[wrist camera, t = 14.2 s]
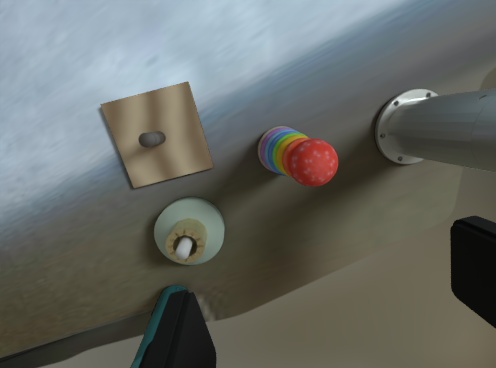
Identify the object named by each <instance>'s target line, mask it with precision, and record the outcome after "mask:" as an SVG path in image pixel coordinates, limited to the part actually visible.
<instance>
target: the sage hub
mask: <svg viewBox="0 0 496 368" xmlns="http://www.w3.org/2000/svg"><path fill="white" fill-rule="evenodd" d="M187 218H191V219H196V220H199V221H200V222H201V223H202V224H203V225H204V226H205V227H206V230H207V233H208V236H207V240H206V245H205V249H204V252H203V255H202V256H201V257H200V258H199V259H198V260H197V261H195V262H191V263H187V264H185V263H180V262H177V263H180V264H184V265H196V264H201V263H204V262H206V261H208V260H210V259H211V258H213V257H214V256H215V255H216V254H217V253H218V251H219V250H220V248H221V246H222V244H223V240H224V230H225V224H224V219H223V217H222V214H221V213H220V211H219V210H218V208H217V207H216V206H215V205H213V204H212V203H211V202H209V201H207V200H205V199H203V198H199V197H183V198H180V199H177V200H175V201H173V202H172V203H170V204H169V205H168V206H167V207H166V208H165V209H164V211H163V212H162V213H161V214H160V216H159V217H158V219H157V221H156V224H155V227H154V238H155V241H156V244H157V246H158V248H159V249H160V251H161V252H162V253H163V254H164V255H165V256H166V257H167V258H169V259H170V260H172V261H174V262H176V261H175V260H173V259H172V258H171V257H170V256H168V253H167V250H166V248H165V245H166V240H167V237H168V235H169V233H170V232H171V230H172V228H173V226H175V225H176V224H177V223H178V222H179V221H180V220H183V219H187ZM179 238H180V243H179V245H178V247H177V249H176V252H175V255H176V257H177V258H178V259H182V260H183V259H186V258H187V257H188V256H189V253H190V250H191V247H192V244H195V243H197V242H196V240H195V239H193V238H192V237H191V236H187V235H183V236H179Z"/></svg>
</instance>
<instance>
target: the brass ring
mask: <svg viewBox="0 0 496 368" xmlns="http://www.w3.org/2000/svg"><path fill="white" fill-rule="evenodd" d="M183 235H187V236H191V237H192V238H193V239H195V240H196V242H197V243H195V244H192V247H191V250H190V253H189V256H188V257H187V258H186V259H183V260H182V259H178V258H177V257H176V255H175V252H176V249H177V247H178V245H179V243H180V238H179V236H183ZM207 236H208V233H207V230H206V227H205V226H204V225H203V224H202V223H201V222H200V221H199V220H196V219H191V218H187V219H183V220H180V221H179V222H178V223H177V224H176V225H175V226H173V228H172V230H171V232H170V233H169V235H168V237H167V240H166V245H165V248H166V250H167V253H168V256H170V257H171V258H172V259H173V260H175V261H176V262H180V263H185V264H187V263H191V262H195V261H197V260H198V259H199V258H200V257H201V256H202V255H203V252H204V249H205V245H206V240H207Z"/></svg>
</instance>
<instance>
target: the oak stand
mask: <svg viewBox="0 0 496 368" xmlns="http://www.w3.org/2000/svg"><path fill="white" fill-rule="evenodd" d="M100 105H101V107H102V110H103V112H104V115H105V117H106V120H107V122H108V125H109V127H110V130H111V132H112V135H113V137H114V140H115V142H116V145H117V147H118V150H119V152H120V155H121V157H122V160H123V162H124V165H125V167H126V170H127V172H128V175H129V177H130V180H131V182H132V185H133V187H134V188H137V187H141V186H144V185H148V184H152V183H156V182H160V181H164V180H168V179H172V178H175V177H179V176H183V175H187V174H191V173H195V172H199V171H202V170H206V169H210V168H213V167H214V166H213V163H212V160H211V156H210V153H209V149H208V146H207V143H206V139H205V136H204V132H203V129H202V126H201V122H200V119H199V116H198V112H197V109H196V105H195V102H194V99H193V95H192V92H191V88H190V85H189V82H184V83H180V84H177V85H173V86H169V87H165V88H161V89H157V90H154V91H150V92H146V93H142V94H138V95H134V96H131V97H127V98H123V99H119V100H115V101H111V102H108V103H104V104H100Z"/></svg>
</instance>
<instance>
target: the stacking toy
mask: <svg viewBox="0 0 496 368" xmlns="http://www.w3.org/2000/svg"><path fill="white" fill-rule="evenodd" d="M258 156H259V159H260V161H261V163H262V164H263V166H264V167H265V168H267V169H268V170H270V171H272V172H275V173H278V174H281V175H284V176H289V177H293V178H294V179H295V180H296V181H297V182H299V183H300V184H302V185H305V186H309V187H316V186H321V185H323V184H325V183H327V182H328V181H330V180H331V179H332V177H333V176H334V175H335V173H336V171H337V167H338V157H337V154H336V152H335V150H334V148H333V147H332V146H331V145H330V144H328V143H327V142H325V141H323V140H320V139H310V138H308V137H307V136H306V135H304V134H301V133H299V132H298V131H296V130H294V129H292V128H290V127H286V126H278V127H274V128H272V129H270V130H268V131H267V132H266V133H265V134H264V135H263V136H262V138H261V140H260V142H259V145H258Z"/></svg>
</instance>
